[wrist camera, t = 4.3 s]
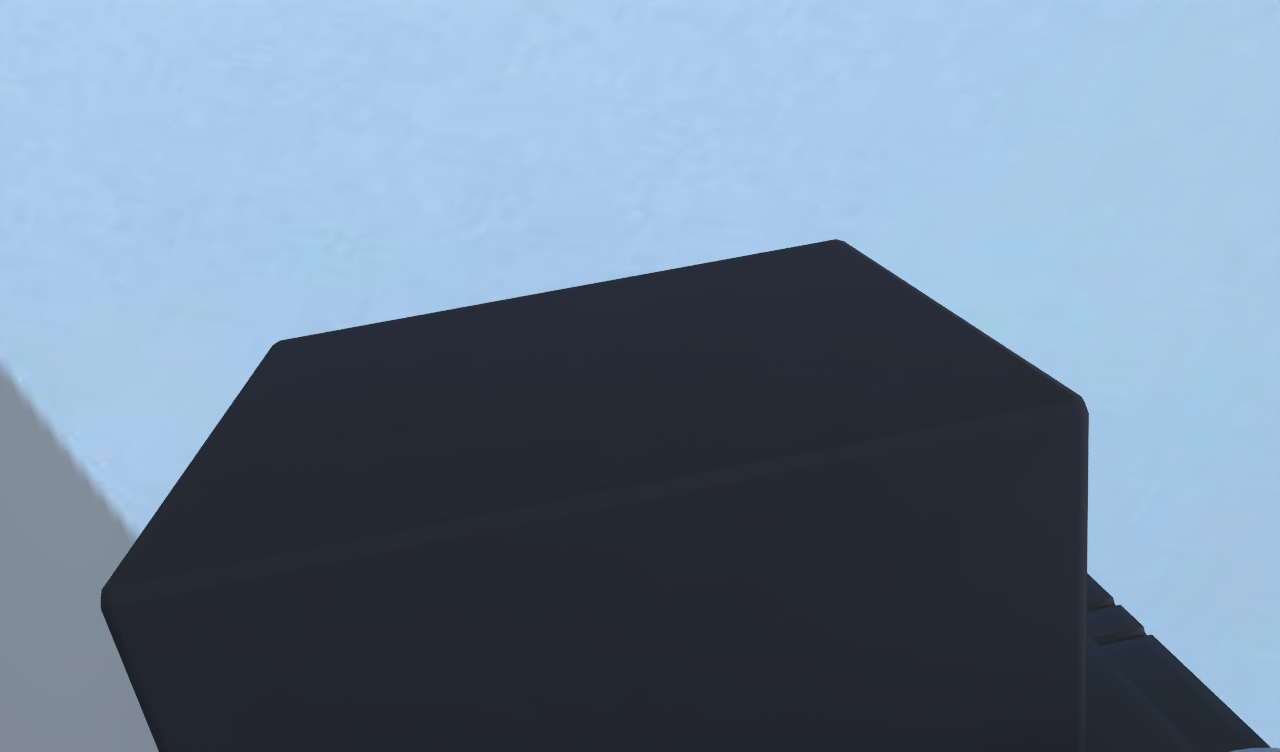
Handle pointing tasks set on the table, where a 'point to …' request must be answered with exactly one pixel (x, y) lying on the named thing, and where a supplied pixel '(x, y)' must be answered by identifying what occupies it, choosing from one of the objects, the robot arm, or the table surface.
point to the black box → (628, 531)
